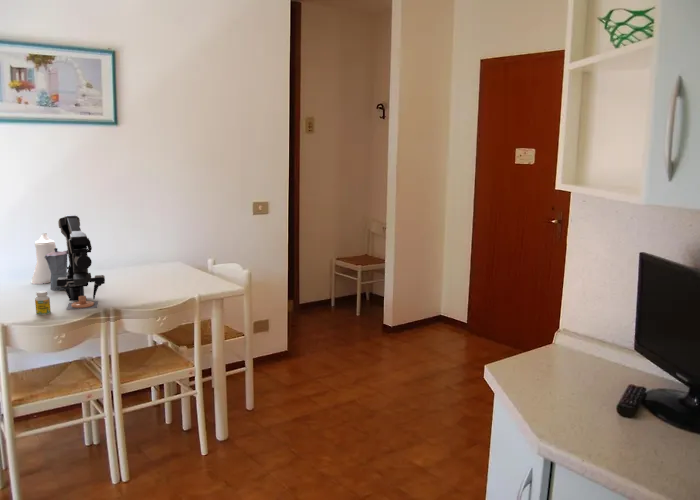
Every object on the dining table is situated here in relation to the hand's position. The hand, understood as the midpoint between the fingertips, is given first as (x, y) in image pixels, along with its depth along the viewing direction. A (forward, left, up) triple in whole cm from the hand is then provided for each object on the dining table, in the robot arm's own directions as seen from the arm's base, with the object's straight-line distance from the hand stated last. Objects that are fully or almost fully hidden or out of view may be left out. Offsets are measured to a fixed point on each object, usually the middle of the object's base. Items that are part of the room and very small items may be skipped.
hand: (82, 299), depth 260 cm
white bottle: (-54, -21, -3) cm, 58 cm away
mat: (0, 0, -3) cm, 3 cm away
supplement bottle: (+8, -14, -3) cm, 17 cm away
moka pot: (-38, -12, -3) cm, 40 cm away
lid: (0, 0, -2) cm, 2 cm away
